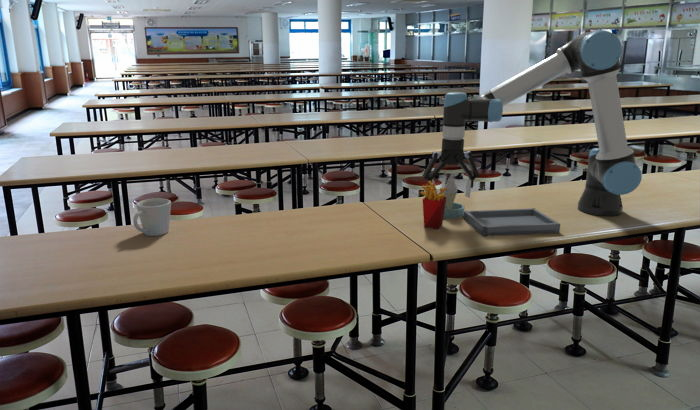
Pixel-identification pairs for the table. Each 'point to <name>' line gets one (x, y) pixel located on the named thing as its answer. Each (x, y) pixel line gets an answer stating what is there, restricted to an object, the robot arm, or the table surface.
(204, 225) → the table surface
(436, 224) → the french fries
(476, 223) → the tray
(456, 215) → the teal ring
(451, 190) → the soft serve swirl
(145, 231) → the mug
